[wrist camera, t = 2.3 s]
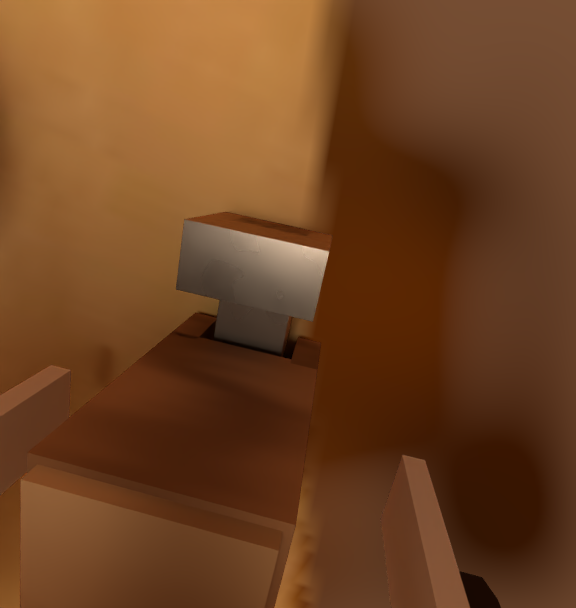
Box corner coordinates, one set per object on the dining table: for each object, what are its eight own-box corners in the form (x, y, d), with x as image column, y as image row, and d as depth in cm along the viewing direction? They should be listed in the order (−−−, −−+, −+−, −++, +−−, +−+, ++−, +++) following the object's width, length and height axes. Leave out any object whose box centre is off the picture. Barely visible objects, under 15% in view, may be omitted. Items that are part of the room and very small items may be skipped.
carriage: (174, 460, 18) (11, 723, 9) (195, 312, 16) (9, 467, 7) (285, 490, 17) (227, 793, 9) (321, 342, 15) (292, 544, 7)
